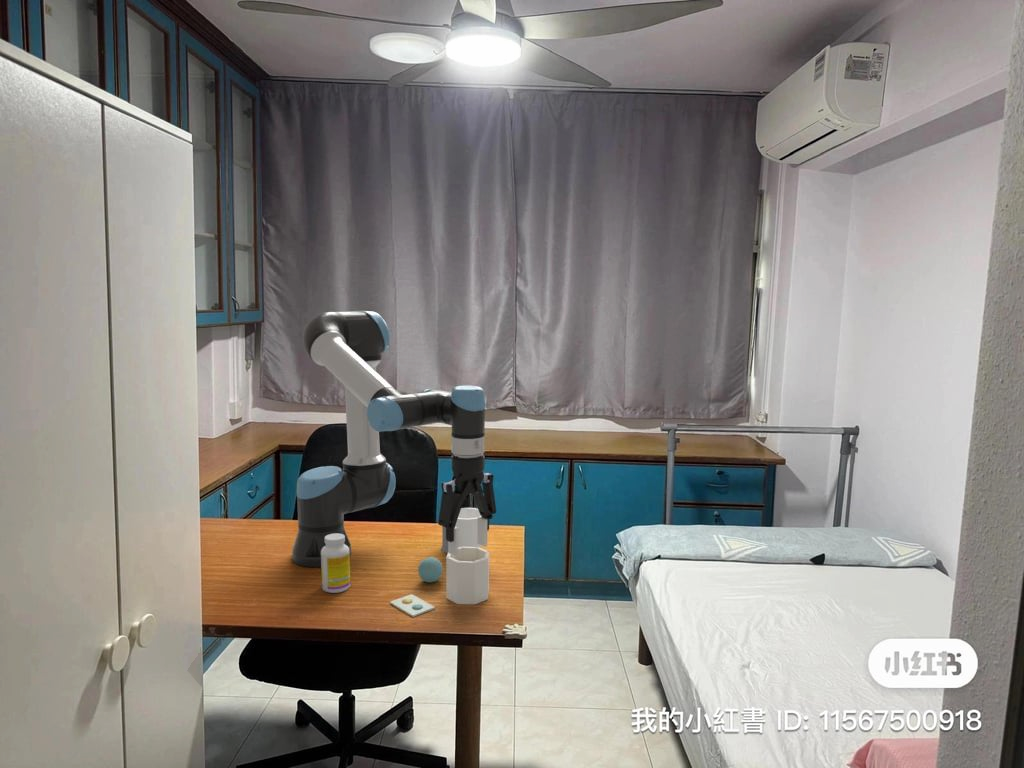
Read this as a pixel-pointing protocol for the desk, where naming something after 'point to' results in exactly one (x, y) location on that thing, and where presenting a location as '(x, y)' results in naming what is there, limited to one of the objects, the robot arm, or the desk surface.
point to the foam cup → (468, 527)
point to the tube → (468, 575)
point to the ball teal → (430, 569)
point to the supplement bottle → (335, 564)
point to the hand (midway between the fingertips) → (468, 549)
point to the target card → (412, 605)
